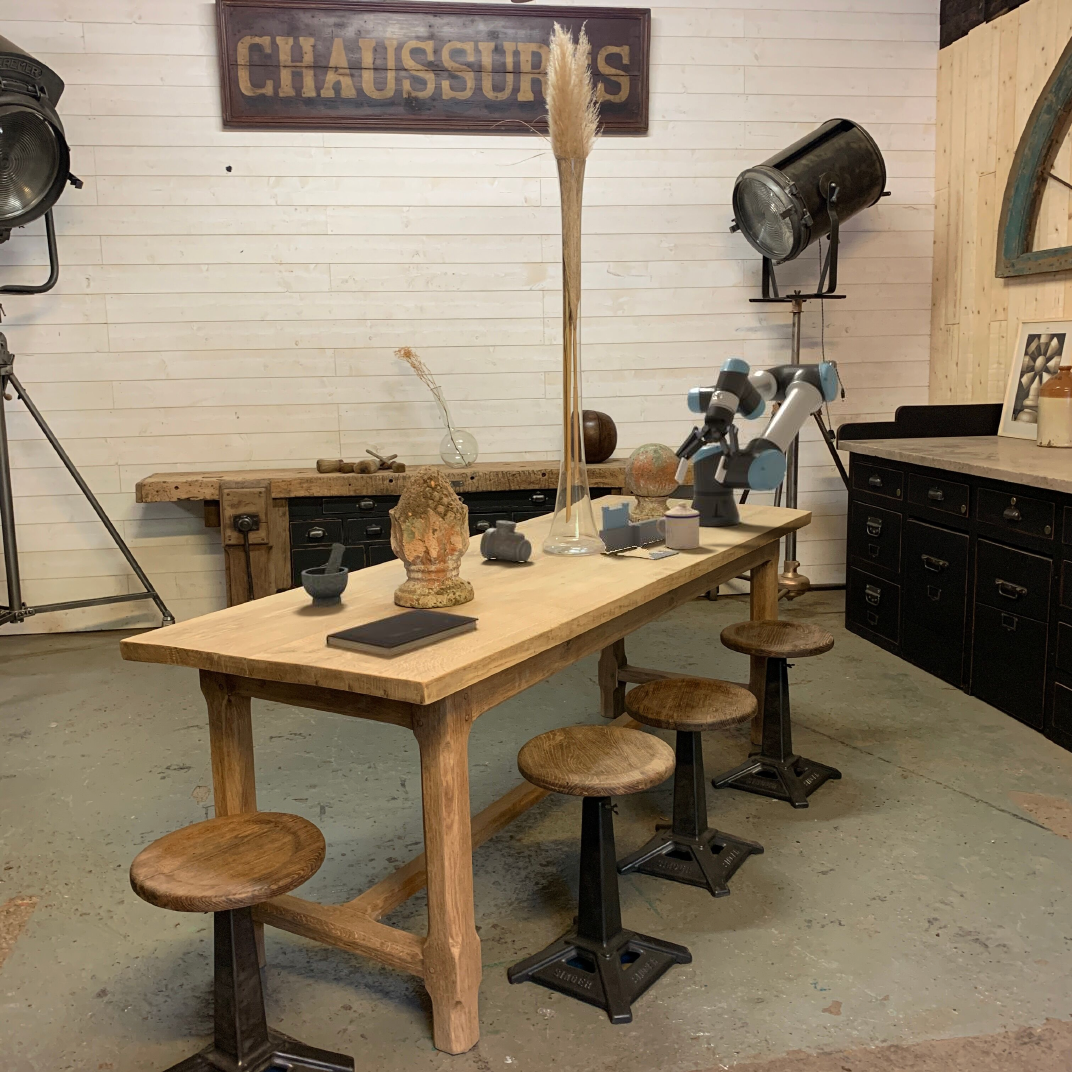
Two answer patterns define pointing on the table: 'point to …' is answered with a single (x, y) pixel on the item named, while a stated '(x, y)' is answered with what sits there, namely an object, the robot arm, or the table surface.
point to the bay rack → (635, 536)
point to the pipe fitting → (505, 543)
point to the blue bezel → (615, 516)
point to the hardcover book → (402, 631)
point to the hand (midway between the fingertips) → (698, 480)
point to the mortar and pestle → (327, 580)
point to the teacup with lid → (681, 527)
